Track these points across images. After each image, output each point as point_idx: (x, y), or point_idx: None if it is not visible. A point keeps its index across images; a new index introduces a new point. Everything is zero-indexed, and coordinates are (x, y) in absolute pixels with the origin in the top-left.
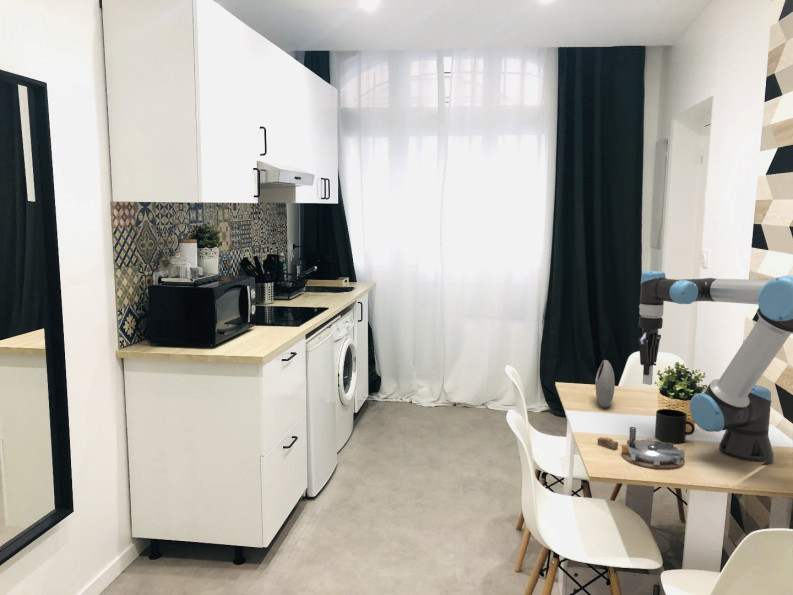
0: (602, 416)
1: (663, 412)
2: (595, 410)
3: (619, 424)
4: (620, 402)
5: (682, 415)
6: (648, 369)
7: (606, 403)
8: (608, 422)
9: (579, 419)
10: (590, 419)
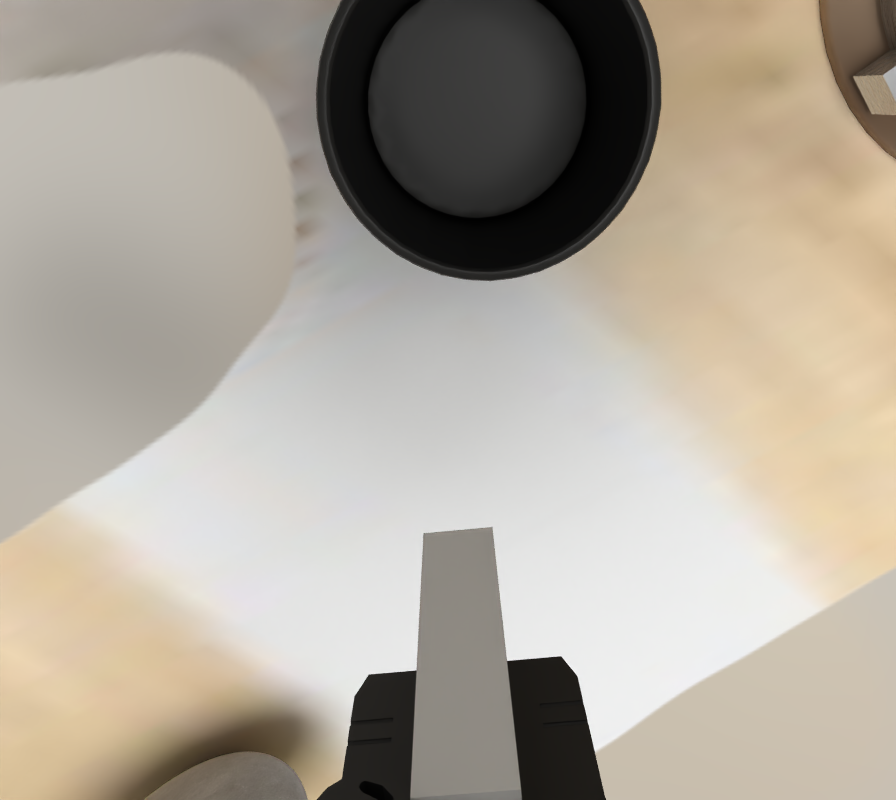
0: None
1: (421, 244)
2: (317, 769)
3: None
4: (7, 773)
5: (347, 39)
6: (553, 754)
7: (289, 768)
8: None
9: None
10: None
